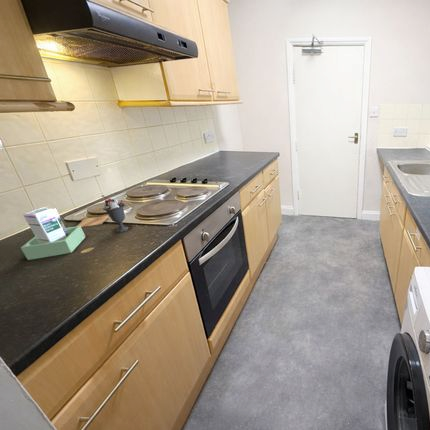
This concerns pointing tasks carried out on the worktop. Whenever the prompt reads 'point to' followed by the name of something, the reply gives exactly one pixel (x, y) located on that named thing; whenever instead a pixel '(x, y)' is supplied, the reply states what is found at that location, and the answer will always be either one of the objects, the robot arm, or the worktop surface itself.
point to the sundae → (115, 212)
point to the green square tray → (54, 245)
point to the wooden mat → (92, 221)
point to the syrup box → (46, 225)
